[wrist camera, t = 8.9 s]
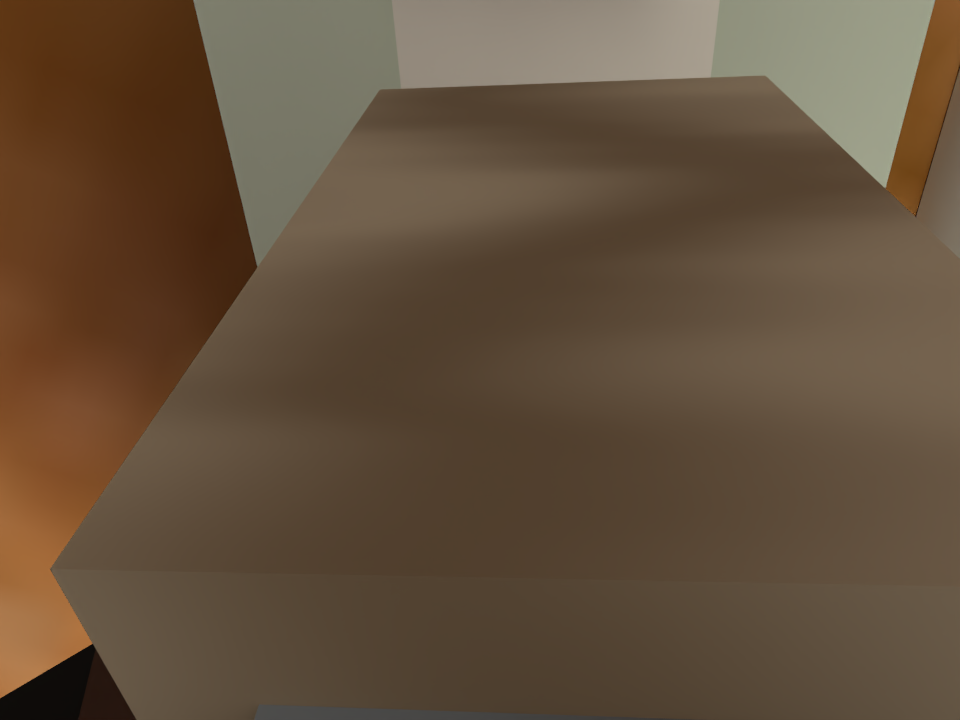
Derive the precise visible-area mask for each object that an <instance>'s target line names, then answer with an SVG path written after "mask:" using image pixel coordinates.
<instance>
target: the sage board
mask: <svg viewBox="0 0 960 720" xmlns="http://www.w3.org/2000/svg"><path fill="white" fill-rule="evenodd" d="M193 1H194V5H195V9H196V13H197V18H198V22H199V26H200V30H201V34H202V38H203V43H204V47H205V51H206V55H207V59H208V63H209V68H210V72H211V76H212V80H213V84H214V88H215V93H216V97H217V101H218V105H219V109H220V114H221V118H222V122H223V126H224V130H225V134H226V139H227V143H228V147H229V151H230V155H231V159H232V164H233V168H234V172H235V176H236V180H237V184H238V189H239V193H240V197H241V201H242V205H243V209H244V214H245V218H246V222H247V226H248V230H249V234H250V239H251V243H252V247H253V251H254V255H255V260H256V264H257V267H258V266H259V265H260V263H261V262H262V260H263V259H264V257H265V256H266V254H267V253H268V251H269V250H270V249H271V247H272V246H273V244H274V243H275V241H276V240H277V238H278V237H279V235H280V234H281V233H282V231H283V230H284V228H285V227H286V225H287V224H288V222H289V221H290V219H291V218H292V217H293V215H294V214H295V212H296V211H297V209H298V208H299V206H300V205H301V203H302V202H303V201H304V199H305V198H306V196H307V195H308V193H309V192H310V190H311V189H312V187H313V186H314V185H315V183H316V182H317V180H318V179H319V177H320V176H321V174H322V173H323V171H324V170H325V169H326V167H327V166H328V164H329V163H330V161H331V160H332V158H333V157H334V155H335V154H336V153H337V151H338V150H339V148H340V147H341V145H342V144H343V142H344V141H345V139H346V138H347V137H348V135H349V134H350V132H351V131H352V129H353V128H354V126H355V125H356V123H357V122H358V121H359V119H360V118H361V116H362V115H363V113H364V112H365V110H366V109H367V107H368V106H369V105H370V103H371V102H372V100H373V99H374V97H375V96H376V94H377V93H378V91H379V90H380V89H407V88H434V87H462V86H489V85H517V84H544V83H572V82H599V81H627V80H655V79H682V78H710V77H737V76H766V77H768V78H769V79H770V80H771V81H772V82H773V83H774V84H775V85H776V86H777V87H778V88H779V89H780V90H781V91H782V92H783V93H785V94H786V95H787V96H788V97H789V98H790V99H791V100H792V101H793V102H794V103H795V104H796V105H797V106H798V107H799V108H800V109H801V110H803V111H804V112H805V113H806V114H807V115H808V116H809V117H810V118H811V119H812V120H813V121H814V122H815V123H816V124H817V125H818V126H820V127H821V128H822V129H823V130H824V131H825V132H826V133H827V134H828V135H829V136H830V137H831V138H832V139H833V140H834V141H835V142H836V143H838V144H839V145H840V146H841V147H842V148H843V149H844V150H845V151H846V152H847V153H848V154H849V155H850V156H851V157H852V158H853V159H855V160H856V161H857V162H858V163H859V164H860V165H861V166H862V167H863V168H864V169H865V170H866V171H867V172H868V173H869V174H870V175H871V176H873V177H874V178H875V179H876V180H877V181H878V182H879V183H880V184H881V185H882V186H883V187H884V188H886V184H887V180H888V176H889V173H890V169H891V165H892V161H893V158H894V154H895V150H896V146H897V142H898V139H899V135H900V131H901V127H902V123H903V120H904V116H905V112H906V108H907V105H908V101H909V97H910V93H911V89H912V86H913V82H914V78H915V74H916V70H917V67H918V63H919V59H920V55H921V52H922V48H923V44H924V40H925V36H926V33H927V29H928V25H929V21H930V18H931V14H932V10H933V6H934V2H935V0H193Z"/></svg>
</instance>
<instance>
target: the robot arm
mask: <svg viewBox="0 0 960 720" xmlns="http://www.w3.org/2000/svg"><path fill="white" fill-rule="evenodd" d="M0 720H136V718H135V716H134V714H133V713H132V711H131V709H130V707H129V706H128V704H127V702H126V701H125V699H124V697H123V695H122V694H121V692H120V690H119V688H118V687H117V685H116V683H115V681H114V680H113V678H112V676H111V674H110V673H109V671H108V669H107V667H106V666H105V664H104V662H103V660H102V659H101V657H100V655H99V653H98V652H97V650H96V648H95V647H94V645H93V644H92V645H90V646H88V647H87V648H85V649H83V650H82V651H80V652H78V653H76V654H75V655H73V656H71V657H70V658H68V659H66V660H65V661H63V662H61V663H60V664H58V665H56V666H54V667H53V668H51V669H49V670H48V671H46V672H44V673H43V674H41V675H39V676H37V677H36V678H34V679H32V680H31V681H29V682H27V683H26V684H24V685H22V686H21V687H19V688H17V689H15V690H14V691H12V692H10V693H9V694H7V695H5V696H4V697H2V698H0Z"/></svg>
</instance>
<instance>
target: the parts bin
mask: <svg viewBox="0 0 960 720" xmlns="http://www.w3.org/2000/svg"><path fill="white" fill-rule="evenodd" d="M916 218H917V219H918V220H919V221H920V222H921V223H922V224H923V225H924V226H926V227H927V228H928V229H929V230H930V231H931V232H932V233H933V234H934V235H935V236H936V237H937V238H938V239H939V240H940V241H941V242H943V243H944V244H945V245H946V246H947V247H948V248H949V249H950V250H951V251H952V252H953V253H954V254H955V255H956V256H957V257H958V258H959V259H960V69H959V73H958V76H957V79H956V83H955V86H954V90H953V93H952V96H951V100H950V103H949V107H948V110H947V113H946V117H945V120H944V123H943V127H942V130H941V134H940V137H939V140H938V144H937V147H936V151H935V154H934V157H933V161H932V164H931V168H930V171H929V174H928V178H927V181H926V185H925V188H924V191H923V195H922V198H921V201H920V205H919V208H918V212H917V215H916Z"/></svg>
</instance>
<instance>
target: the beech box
mask: <svg viewBox="0 0 960 720" xmlns="http://www.w3.org/2000/svg"><path fill="white" fill-rule="evenodd" d="M50 570H51V572H52V573H53V575H54V577H55V579H56V580H57V582H58V584H59V586H60V587H61V589H62V591H63V593H64V594H65V596H66V598H67V599H68V601H69V603H70V605H71V606H72V608H73V610H74V612H75V613H76V615H77V617H78V619H79V620H80V622H81V624H82V626H83V627H84V629H85V631H86V633H87V634H88V636H89V638H90V640H91V641H92V643H93V645H94V647H95V648H96V650H97V652H98V653H99V655H100V657H101V659H102V660H103V662H104V664H105V666H106V667H107V669H108V671H109V673H110V674H111V676H112V678H113V680H114V681H115V683H116V685H117V687H118V688H119V690H120V692H121V694H122V695H123V697H124V699H125V701H126V702H127V704H128V706H129V707H130V709H131V711H132V713H133V714H134V716H135V718H136V720H960V259H959V258H958V257H957V256H956V255H955V254H954V253H953V252H952V251H951V250H950V249H949V248H948V247H947V246H946V245H945V244H944V243H943V242H941V241H940V240H939V239H938V238H937V237H936V236H935V235H934V234H933V233H932V232H931V231H930V230H929V229H928V228H927V227H926V226H924V225H923V224H922V223H921V222H920V221H919V220H918V219H917V218H916V217H915V216H914V215H913V214H912V213H911V212H910V211H909V210H908V209H906V208H905V207H904V206H903V205H902V204H901V203H900V202H899V201H898V200H897V199H896V198H895V197H894V196H893V195H892V194H891V193H890V192H888V191H887V190H886V189H885V188H884V187H883V186H882V185H881V184H880V183H879V182H878V181H877V180H876V179H875V178H874V177H873V176H871V175H870V174H869V173H868V172H867V171H866V170H865V169H864V168H863V167H862V166H861V165H860V164H859V163H858V162H857V161H856V160H855V159H853V158H852V157H851V156H850V155H849V154H848V153H847V152H846V151H845V150H844V149H843V148H842V147H841V146H840V145H839V144H838V143H836V142H835V141H834V140H833V139H832V138H831V137H830V136H829V135H828V134H827V133H826V132H825V131H824V130H823V129H822V128H821V127H820V126H818V125H817V124H816V123H815V122H814V121H813V120H812V119H811V118H810V117H809V116H808V115H807V114H806V113H805V112H804V111H803V110H801V109H800V108H799V107H798V106H797V105H796V104H795V103H794V102H793V101H792V100H791V99H790V98H789V97H788V96H787V95H786V94H785V93H783V92H782V91H781V90H780V89H779V88H778V87H777V86H776V85H775V84H774V83H773V82H772V81H771V80H770V79H769V78H768V77H766V76H737V77H710V78H682V79H655V80H627V81H599V82H572V83H544V84H517V85H489V86H462V87H434V88H407V89H380V90H379V91H378V93H377V94H376V96H375V97H374V99H373V100H372V102H371V103H370V105H369V106H368V107H367V109H366V110H365V112H364V113H363V115H362V116H361V118H360V119H359V121H358V122H357V123H356V125H355V126H354V128H353V129H352V131H351V132H350V134H349V135H348V137H347V138H346V139H345V141H344V142H343V144H342V145H341V147H340V148H339V150H338V151H337V153H336V154H335V155H334V157H333V158H332V160H331V161H330V163H329V164H328V166H327V167H326V169H325V170H324V171H323V173H322V174H321V176H320V177H319V179H318V180H317V182H316V183H315V185H314V186H313V187H312V189H311V190H310V192H309V193H308V195H307V196H306V198H305V199H304V201H303V202H302V203H301V205H300V206H299V208H298V209H297V211H296V212H295V214H294V215H293V217H292V218H291V219H290V221H289V222H288V224H287V225H286V227H285V228H284V230H283V231H282V233H281V234H280V235H279V237H278V238H277V240H276V241H275V243H274V244H273V246H272V247H271V249H270V250H269V251H268V253H267V254H266V256H265V257H264V259H263V260H262V262H261V263H260V265H259V266H258V267H257V269H256V270H255V272H254V273H253V275H252V276H251V278H250V279H249V281H248V282H247V283H246V285H245V286H244V288H243V289H242V291H241V292H240V294H239V295H238V297H237V298H236V299H235V301H234V302H233V304H232V305H231V307H230V308H229V310H228V311H227V313H226V314H225V315H224V317H223V318H222V320H221V321H220V323H219V324H218V326H217V327H216V329H215V330H214V331H213V333H212V334H211V336H210V337H209V339H208V340H207V342H206V343H205V345H204V346H203V347H202V349H201V350H200V352H199V353H198V355H197V356H196V358H195V359H194V361H193V362H192V363H191V365H190V366H189V368H188V369H187V371H186V372H185V374H184V375H183V377H182V378H181V379H180V381H179V382H178V384H177V385H176V387H175V388H174V390H173V391H172V393H171V394H170V395H169V397H168V398H167V400H166V401H165V403H164V404H163V406H162V407H161V409H160V410H159V411H158V413H157V414H156V416H155V417H154V419H153V420H152V422H151V423H150V425H149V426H148V427H147V429H146V430H145V432H144V433H143V435H142V436H141V438H140V439H139V441H138V442H137V443H136V445H135V446H134V448H133V449H132V451H131V452H130V454H129V455H128V457H127V458H126V459H125V461H124V462H123V464H122V465H121V467H120V468H119V470H118V471H117V473H116V474H115V475H114V477H113V478H112V480H111V481H110V483H109V484H108V486H107V487H106V489H105V490H104V491H103V493H102V494H101V496H100V497H99V499H98V500H97V502H96V503H95V505H94V506H93V507H92V509H91V510H90V512H89V513H88V515H87V516H86V518H85V519H84V521H83V522H82V523H81V525H80V526H79V528H78V529H77V531H76V532H75V534H74V535H73V537H72V538H71V539H70V541H69V542H68V544H67V545H66V547H65V548H64V550H63V551H62V553H61V554H60V555H59V557H58V558H57V560H56V561H55V563H54V564H53V566H52V567H51V569H50Z"/></svg>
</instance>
